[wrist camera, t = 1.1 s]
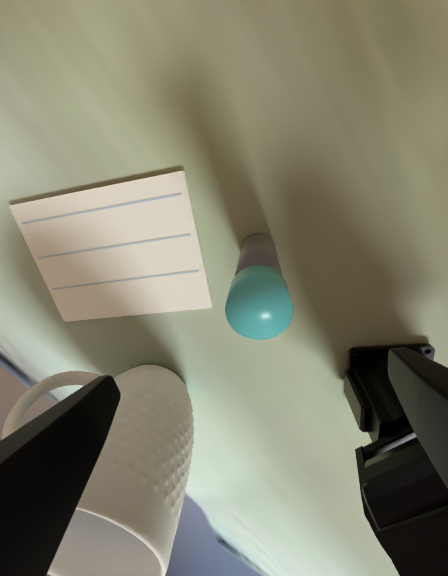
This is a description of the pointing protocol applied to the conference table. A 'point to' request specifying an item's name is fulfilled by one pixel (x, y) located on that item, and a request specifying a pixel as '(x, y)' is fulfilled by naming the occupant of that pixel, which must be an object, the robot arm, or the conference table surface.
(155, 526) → the mug
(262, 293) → the marker
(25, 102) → the conference table surface
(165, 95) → the conference table surface
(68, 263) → the paper
